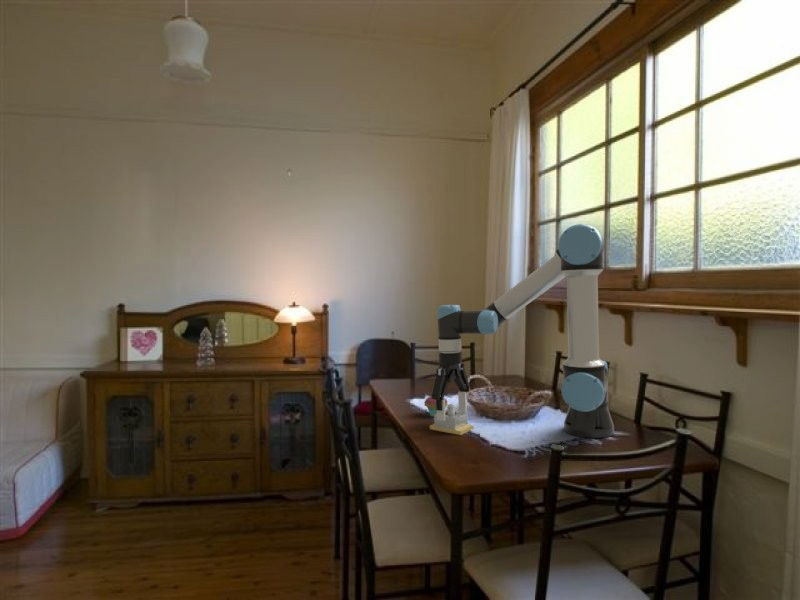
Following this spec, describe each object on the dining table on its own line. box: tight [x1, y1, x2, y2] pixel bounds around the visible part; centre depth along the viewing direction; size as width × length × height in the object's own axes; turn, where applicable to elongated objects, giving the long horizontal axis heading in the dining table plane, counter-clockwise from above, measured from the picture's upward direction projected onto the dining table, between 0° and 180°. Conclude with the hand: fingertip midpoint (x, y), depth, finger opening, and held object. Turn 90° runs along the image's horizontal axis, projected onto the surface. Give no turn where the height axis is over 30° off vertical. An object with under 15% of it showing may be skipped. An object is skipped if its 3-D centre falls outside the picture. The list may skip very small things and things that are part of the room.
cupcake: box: [423, 395, 449, 418], centre depth 185 cm, size 9×8×12 cm
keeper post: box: [429, 403, 474, 436], centre depth 167 cm, size 12×8×8 cm, turn 52°
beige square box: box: [433, 408, 469, 430], centre depth 168 cm, size 8×8×4 cm
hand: (452, 415), depth 167 cm, fingers open, 13 cm apart
